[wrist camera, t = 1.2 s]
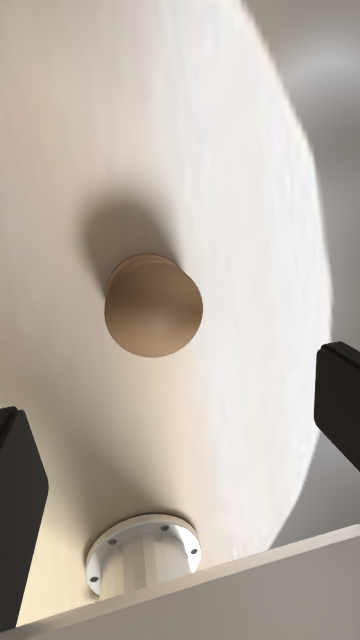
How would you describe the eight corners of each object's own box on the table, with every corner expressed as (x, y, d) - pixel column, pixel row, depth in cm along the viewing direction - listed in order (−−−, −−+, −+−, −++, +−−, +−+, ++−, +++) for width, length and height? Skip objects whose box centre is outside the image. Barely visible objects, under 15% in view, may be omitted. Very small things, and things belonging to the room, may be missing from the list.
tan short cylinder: (168, 342, 27) (179, 368, 22) (95, 317, 25) (90, 340, 20) (200, 272, 26) (218, 285, 21) (124, 239, 24) (126, 246, 19)
